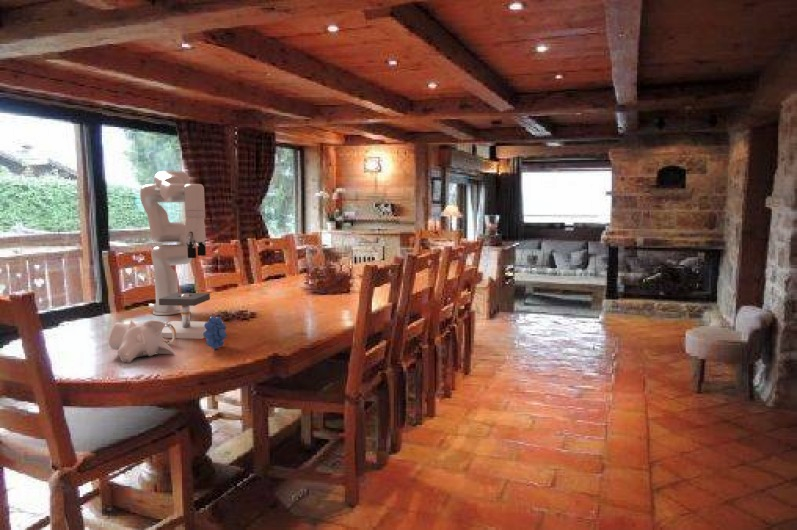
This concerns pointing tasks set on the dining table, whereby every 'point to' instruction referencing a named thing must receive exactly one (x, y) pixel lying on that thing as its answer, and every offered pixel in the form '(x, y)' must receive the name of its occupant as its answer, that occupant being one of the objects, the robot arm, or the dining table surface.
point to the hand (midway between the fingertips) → (197, 256)
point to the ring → (172, 333)
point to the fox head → (138, 339)
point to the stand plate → (185, 330)
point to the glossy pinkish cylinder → (185, 314)
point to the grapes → (215, 332)
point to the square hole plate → (184, 299)
